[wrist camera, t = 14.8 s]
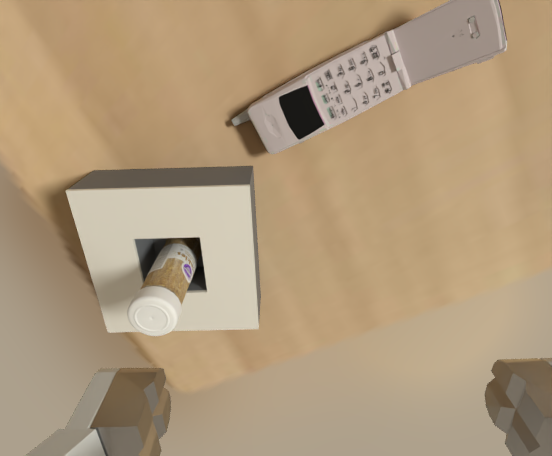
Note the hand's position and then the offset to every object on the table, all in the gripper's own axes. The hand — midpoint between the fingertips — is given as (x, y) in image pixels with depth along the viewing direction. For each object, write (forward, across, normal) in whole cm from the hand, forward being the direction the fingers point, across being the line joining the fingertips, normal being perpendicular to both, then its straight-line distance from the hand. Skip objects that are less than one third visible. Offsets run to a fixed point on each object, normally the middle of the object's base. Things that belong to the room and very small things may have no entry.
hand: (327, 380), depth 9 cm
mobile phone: (+35, -6, -4) cm, 35 cm away
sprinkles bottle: (+33, +13, +14) cm, 38 cm away
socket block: (+34, +13, +14) cm, 39 cm away
